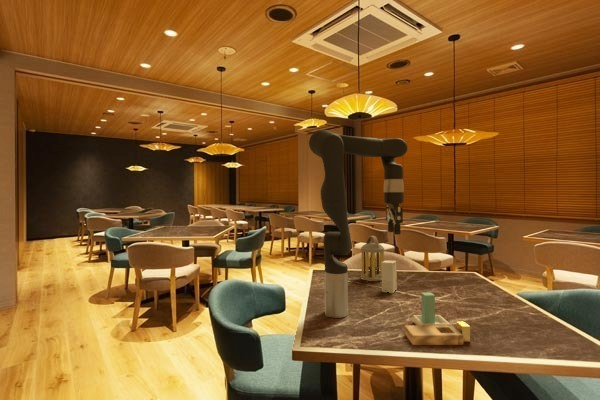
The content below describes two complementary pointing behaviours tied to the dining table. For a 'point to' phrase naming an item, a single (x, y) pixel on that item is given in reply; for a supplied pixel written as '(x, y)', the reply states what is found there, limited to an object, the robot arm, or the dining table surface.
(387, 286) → the skincare box
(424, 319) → the peg
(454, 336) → the flat wooden block
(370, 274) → the lantern
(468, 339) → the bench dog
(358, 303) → the dining table surface
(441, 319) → the dish
